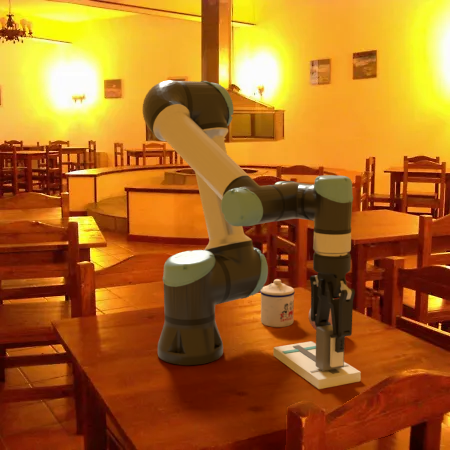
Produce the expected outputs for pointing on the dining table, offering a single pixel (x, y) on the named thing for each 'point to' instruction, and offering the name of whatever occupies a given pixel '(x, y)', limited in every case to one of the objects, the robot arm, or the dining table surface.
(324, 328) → the fader tab
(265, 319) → the teacup with lid
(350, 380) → the slider console
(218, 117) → the robot arm
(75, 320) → the dining table surface
